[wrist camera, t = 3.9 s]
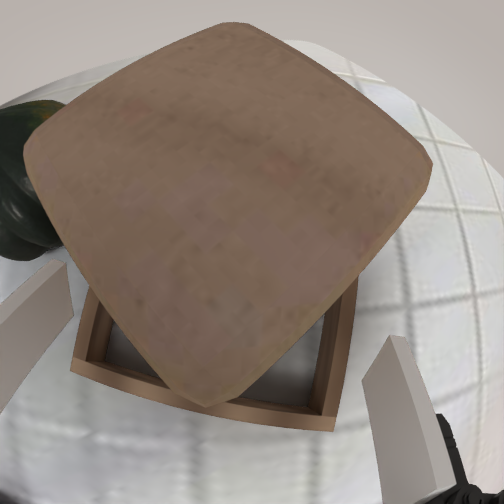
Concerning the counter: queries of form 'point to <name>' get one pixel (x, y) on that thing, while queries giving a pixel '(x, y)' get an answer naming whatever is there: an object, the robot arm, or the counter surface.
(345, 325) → the walnut frame
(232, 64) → the block
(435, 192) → the counter surface
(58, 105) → the squash
